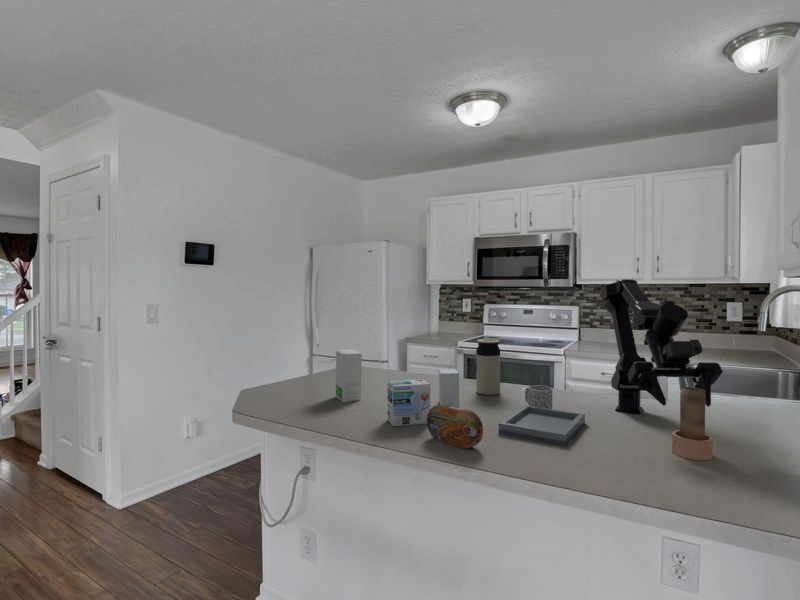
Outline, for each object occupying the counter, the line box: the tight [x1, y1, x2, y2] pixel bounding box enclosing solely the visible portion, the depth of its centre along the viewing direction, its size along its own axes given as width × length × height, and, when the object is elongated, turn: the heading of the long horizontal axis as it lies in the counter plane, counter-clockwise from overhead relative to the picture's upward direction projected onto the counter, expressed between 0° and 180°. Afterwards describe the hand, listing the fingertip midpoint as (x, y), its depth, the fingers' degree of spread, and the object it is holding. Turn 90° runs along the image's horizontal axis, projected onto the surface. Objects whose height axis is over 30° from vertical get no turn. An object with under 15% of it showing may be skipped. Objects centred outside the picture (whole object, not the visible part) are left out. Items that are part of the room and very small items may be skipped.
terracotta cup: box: [671, 429, 714, 462], centre depth 97 cm, size 7×7×4 cm
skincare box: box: [334, 348, 362, 403], centre depth 146 cm, size 8×7×16 cm
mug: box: [524, 385, 553, 409], centre depth 133 cm, size 10×7×7 cm, turn 22°
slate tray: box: [498, 404, 586, 447], centre depth 115 cm, size 20×16×2 cm
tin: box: [426, 404, 484, 449], centre depth 105 cm, size 15×3×8 cm, turn 45°
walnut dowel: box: [679, 386, 706, 441], centre depth 97 cm, size 4×4×14 cm
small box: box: [438, 368, 460, 408], centre depth 138 cm, size 8×6×10 cm
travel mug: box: [475, 338, 501, 396], centre depth 153 cm, size 8×8×18 cm
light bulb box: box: [387, 378, 431, 427], centre depth 121 cm, size 11×7×11 cm, turn 105°
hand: (686, 405), depth 99 cm, fingers open, 9 cm apart
